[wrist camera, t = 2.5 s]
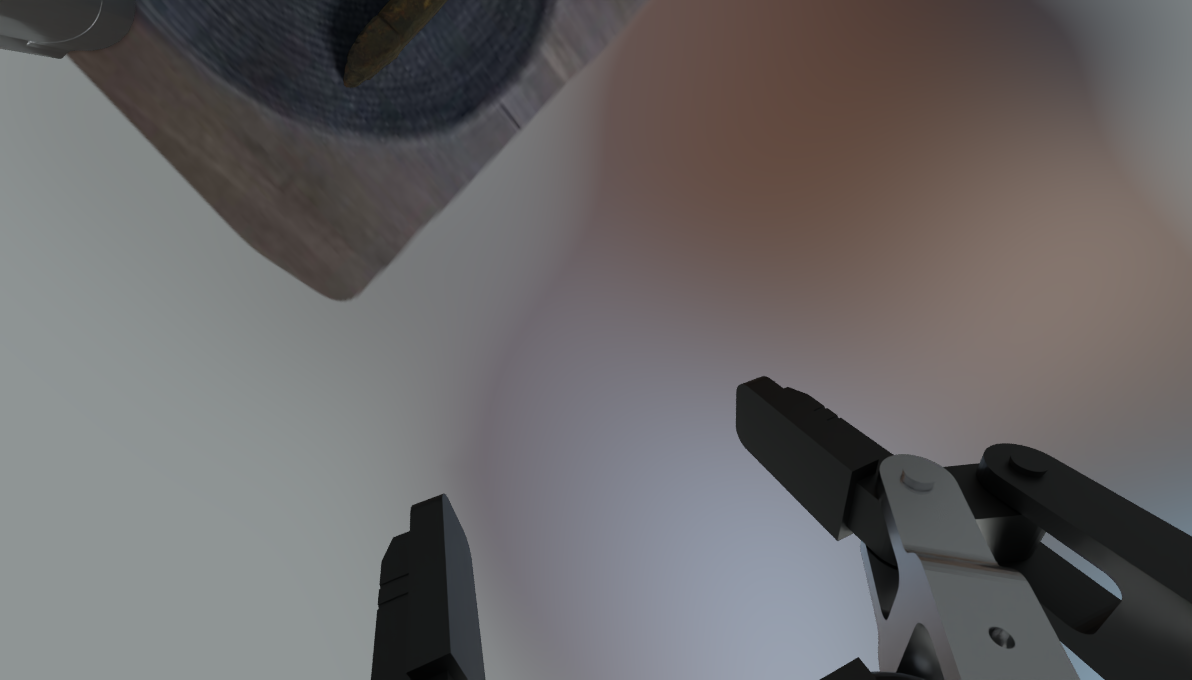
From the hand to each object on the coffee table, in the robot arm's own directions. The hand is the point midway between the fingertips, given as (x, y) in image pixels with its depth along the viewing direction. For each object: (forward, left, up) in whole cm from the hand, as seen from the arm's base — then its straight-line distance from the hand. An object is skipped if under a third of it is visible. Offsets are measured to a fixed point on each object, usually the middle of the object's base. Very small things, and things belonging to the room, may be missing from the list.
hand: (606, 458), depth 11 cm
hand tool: (+9, +14, -42) cm, 45 cm away
